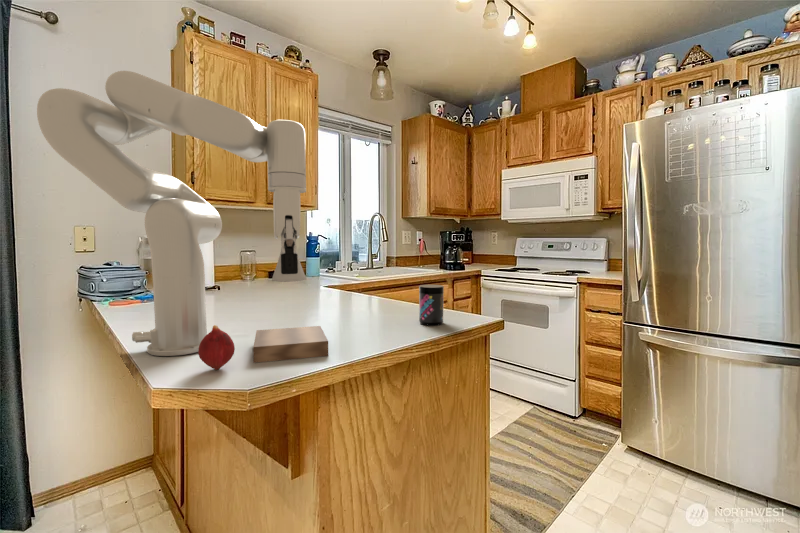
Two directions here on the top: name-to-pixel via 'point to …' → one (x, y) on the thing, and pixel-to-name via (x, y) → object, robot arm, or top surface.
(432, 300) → the supplement container
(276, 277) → the flask
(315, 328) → the block
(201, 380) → the top surface
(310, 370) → the top surface
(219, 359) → the onion
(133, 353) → the top surface
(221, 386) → the top surface
